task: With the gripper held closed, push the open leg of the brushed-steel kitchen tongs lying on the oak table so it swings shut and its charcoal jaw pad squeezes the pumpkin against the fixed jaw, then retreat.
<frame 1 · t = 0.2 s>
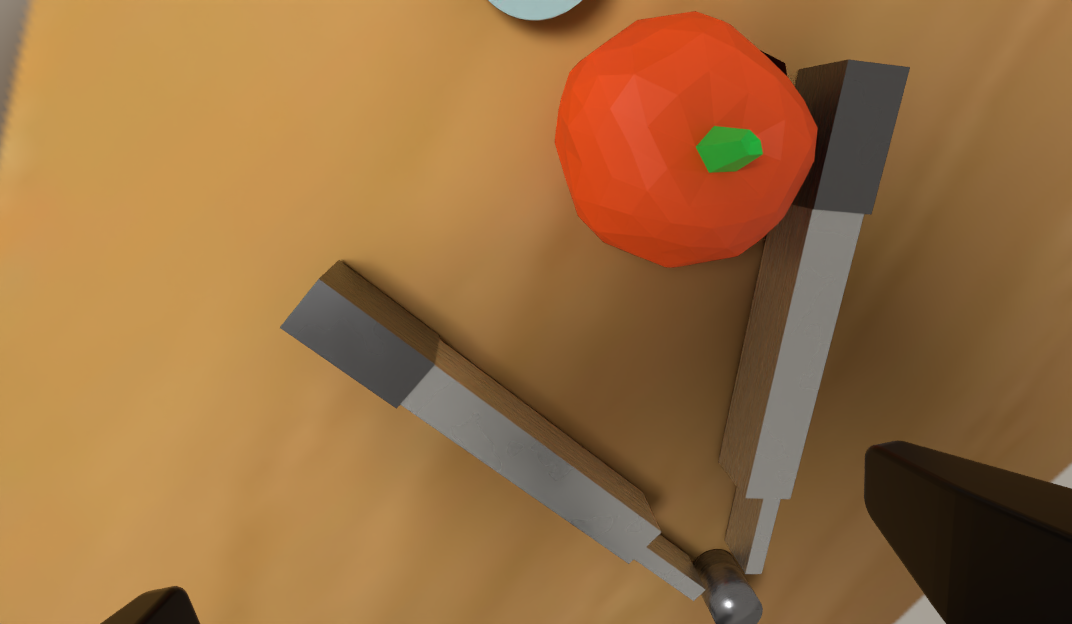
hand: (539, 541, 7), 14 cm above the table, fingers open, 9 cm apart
pumpkin: (651, 146, 20), on the table
tong leg: (530, 450, 21), point 2 cm above the table, hinge at 24.0°
tong base: (713, 568, 26), on the table
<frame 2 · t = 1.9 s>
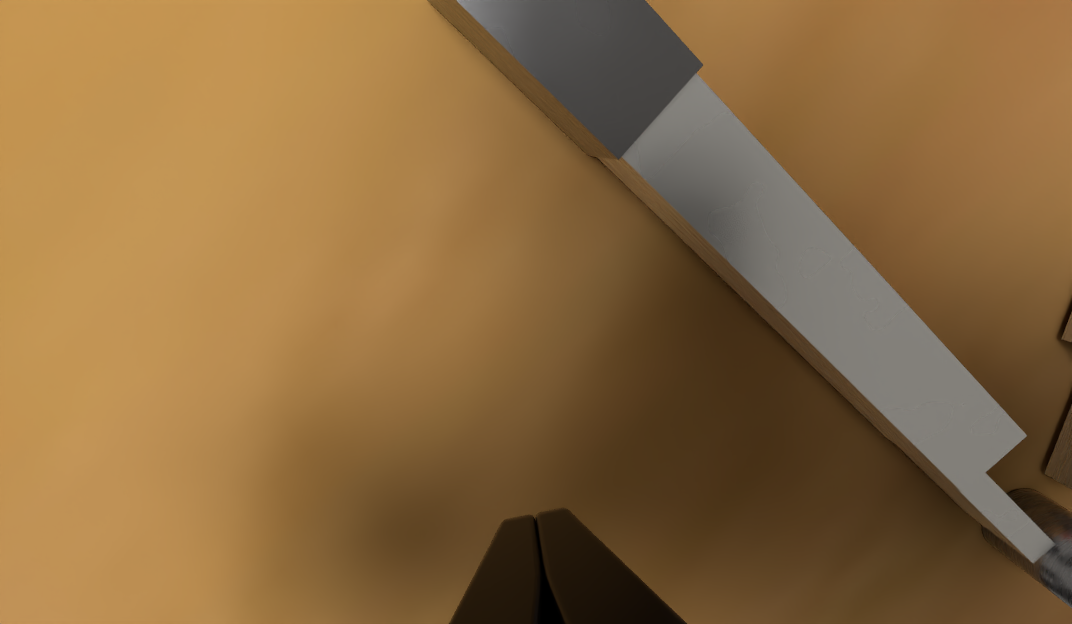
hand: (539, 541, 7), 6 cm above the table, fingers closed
tong leg: (806, 288, 12), point 2 cm above the table, hinge at 24.0°
tong base: (1015, 518, 16), on the table
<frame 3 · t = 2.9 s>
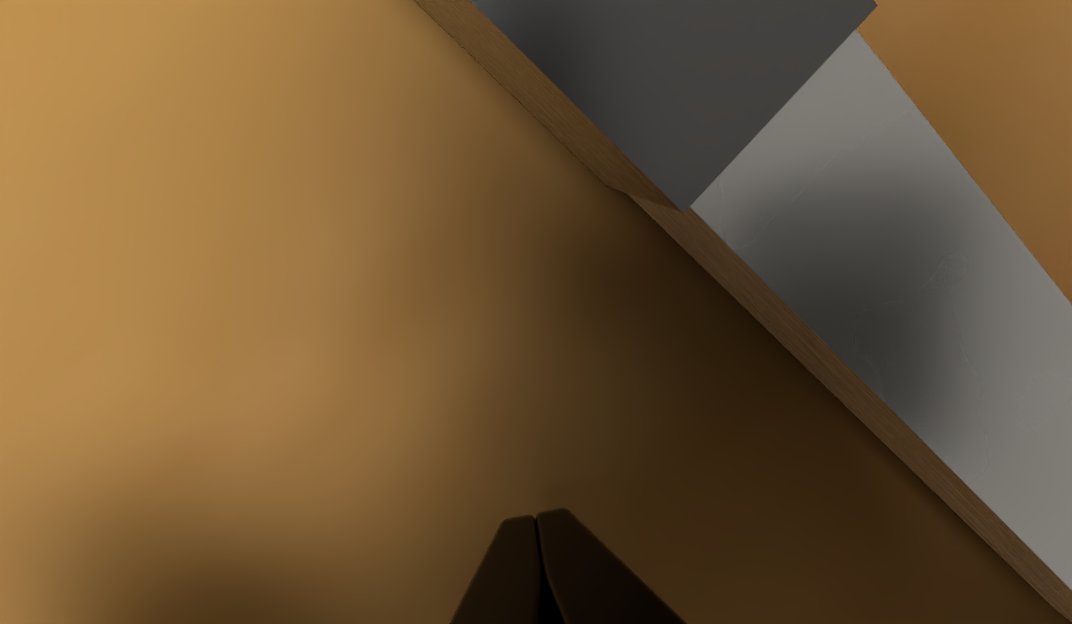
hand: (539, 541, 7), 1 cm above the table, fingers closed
tong leg: (986, 419, 7), point 1 cm above the table, hinge at 24.0°
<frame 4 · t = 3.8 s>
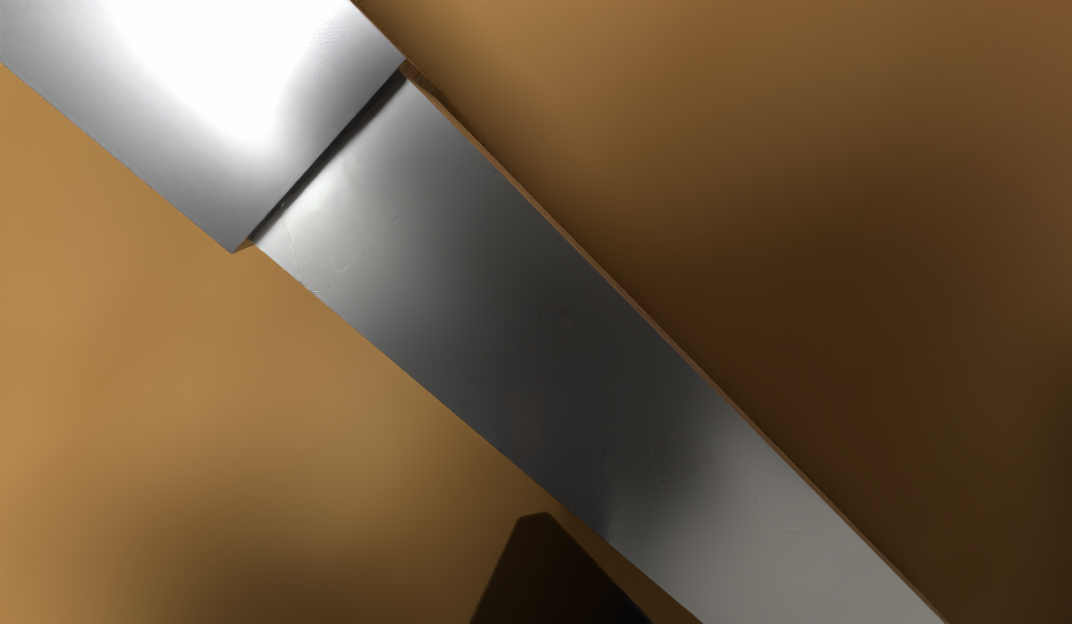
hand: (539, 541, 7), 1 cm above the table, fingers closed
tong leg: (693, 472, 7), point 1 cm above the table, hinge at 21.8°, touching gripper
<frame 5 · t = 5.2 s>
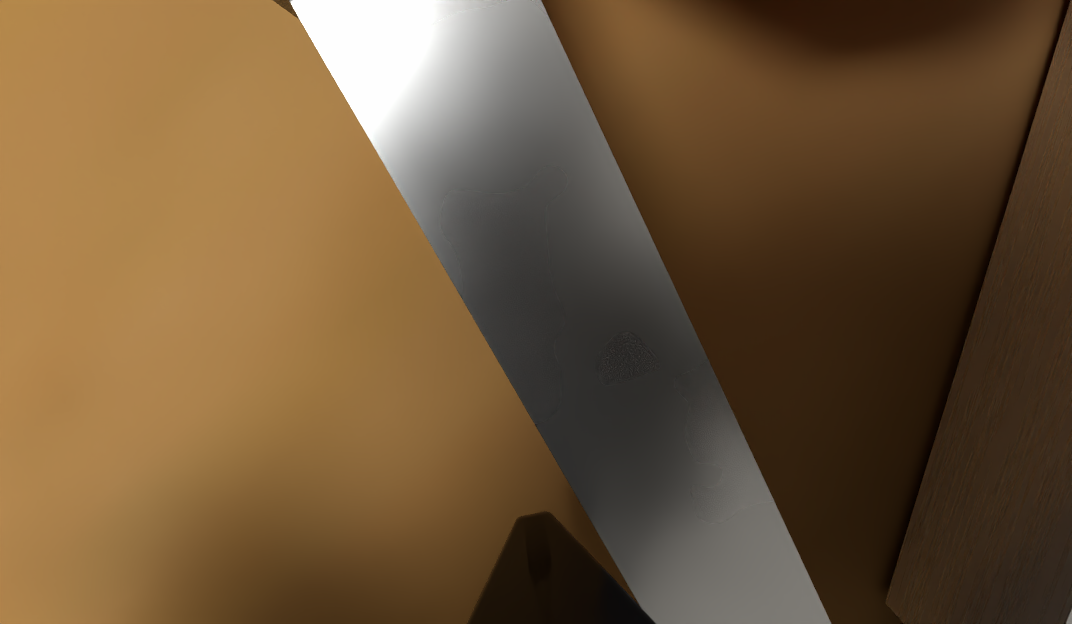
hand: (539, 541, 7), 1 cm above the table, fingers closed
tong leg: (628, 407, 7), point 2 cm above the table, hinge at 3.9°, touching gripper
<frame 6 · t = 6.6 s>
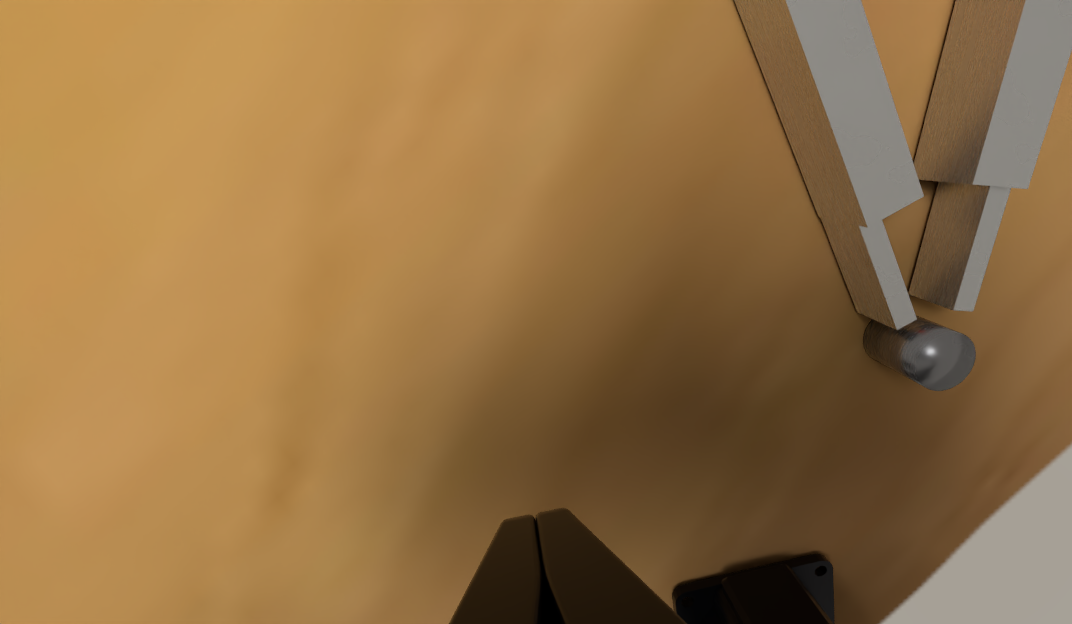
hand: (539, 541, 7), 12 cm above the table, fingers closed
tong leg: (806, 30, 16), point 2 cm above the table, hinge at 3.9°
tong base: (889, 335, 21), on the table
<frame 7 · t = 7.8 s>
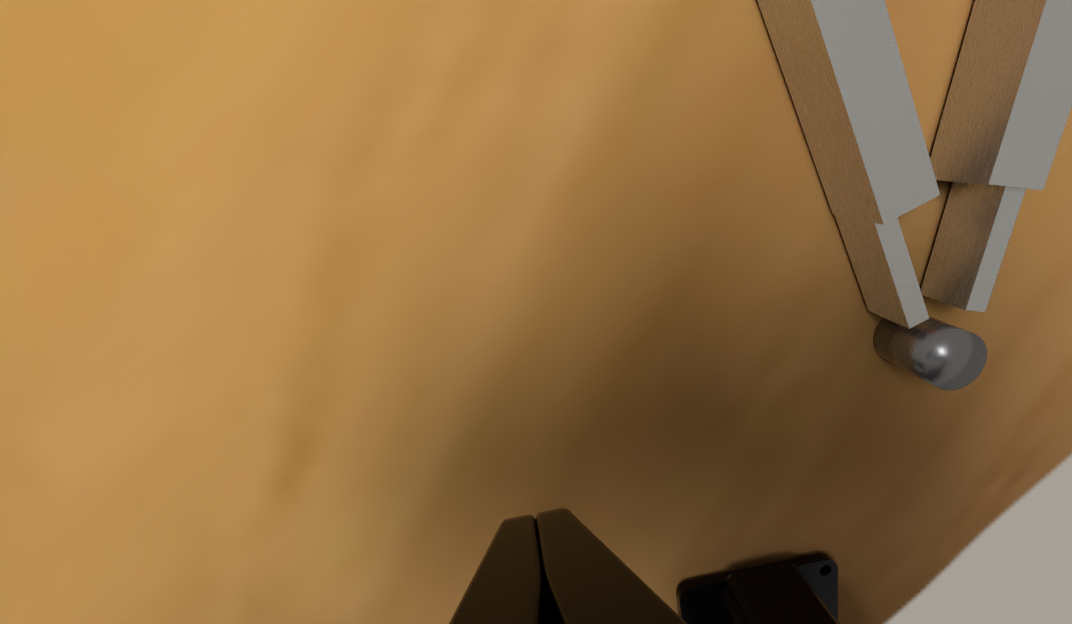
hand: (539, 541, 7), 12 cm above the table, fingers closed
tong leg: (827, 26, 16), point 1 cm above the table, hinge at 3.9°
tong base: (899, 335, 21), on the table
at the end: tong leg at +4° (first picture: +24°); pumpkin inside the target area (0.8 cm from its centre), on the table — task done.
